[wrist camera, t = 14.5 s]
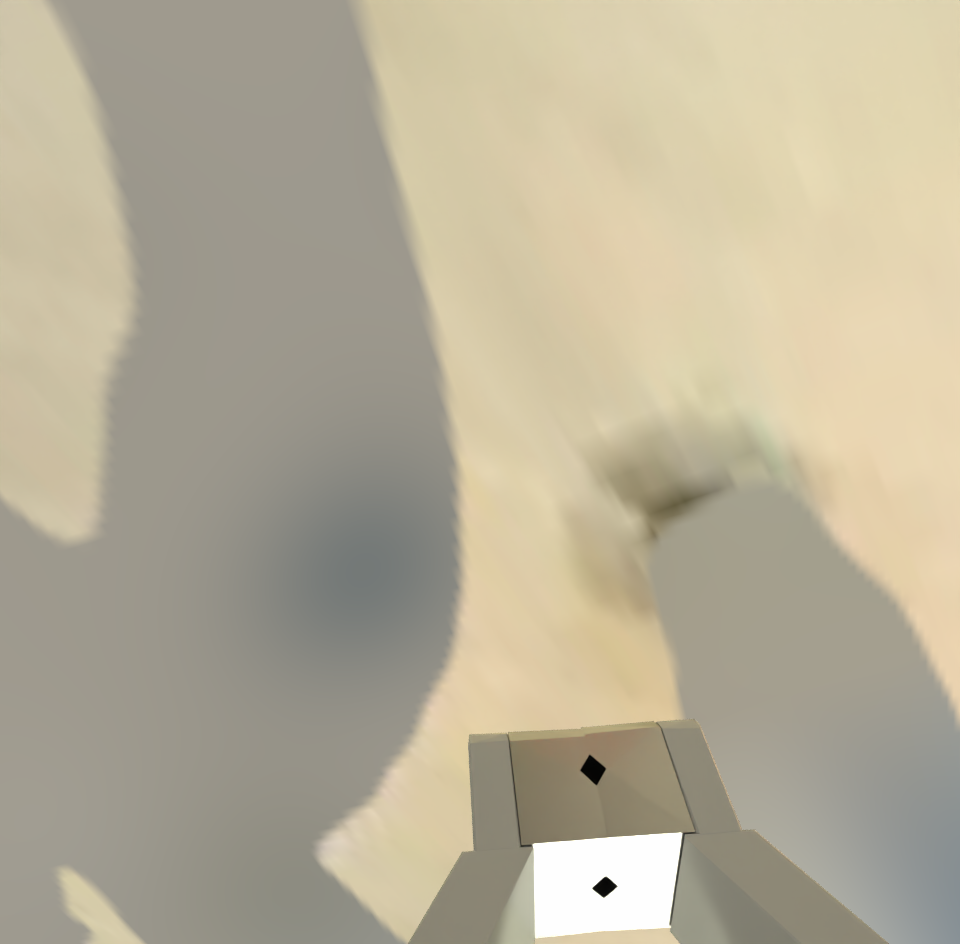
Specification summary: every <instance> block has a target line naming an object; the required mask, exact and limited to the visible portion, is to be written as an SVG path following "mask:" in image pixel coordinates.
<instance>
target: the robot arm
mask: <svg viewBox="0 0 960 944" xmlns="http://www.w3.org/2000/svg"><path fill="white" fill-rule="evenodd" d="M468 750H469V768H470V787H471V806H472V825H473V844H474V851H466V852H462V853H461V855H460V856H459V858H458V860H457V862H456V863H455V865H454V867H453V868H452V870H451V872H450V873H449V875H448V877H447V878H446V880H445V882H444V884H443V885H442V887H441V889H440V890H439V892H438V894H437V895H436V897H435V899H434V900H433V902H432V904H431V906H430V907H429V909H428V911H427V912H426V914H425V916H424V917H423V919H422V921H421V922H420V924H419V926H418V928H417V929H416V931H415V933H414V934H413V936H412V938H411V939H410V941H409V943H408V944H535V938H543V937H552V936H561V935H570V934H579V933H588V932H597V931H612V930H631V929H651V928H670V927H671V929H670V932H671V933H672V934H673V935H674V937H675V938H676V939H677V940H678V942H679V943H680V944H889V943H888V942H886V941H885V940H884V939H883V938H882V937H880V936H879V935H878V934H877V933H876V932H875V931H873V930H872V929H871V928H870V927H869V926H868V925H866V924H865V923H864V922H863V921H862V920H861V919H859V918H858V917H857V916H856V915H855V914H853V913H852V912H851V911H850V910H849V909H848V908H846V907H845V906H844V905H843V904H842V903H840V902H839V901H838V900H837V899H836V898H834V897H833V896H832V895H831V894H830V893H829V892H828V891H826V890H825V889H824V888H823V887H822V886H820V885H819V884H818V883H817V882H816V881H815V880H813V879H812V878H811V877H810V876H809V875H807V874H806V873H805V872H804V871H803V870H802V869H800V868H799V867H798V866H797V865H796V864H794V863H793V862H792V861H791V860H790V859H789V858H787V857H786V856H785V855H784V854H783V853H781V852H780V851H779V850H778V849H777V848H776V847H774V846H773V845H772V844H771V843H770V842H768V841H767V840H766V839H765V838H764V837H762V836H761V835H760V834H759V833H758V832H756V831H755V830H742V828H741V825H740V823H739V820H738V818H737V815H736V813H735V810H734V808H733V805H732V803H731V801H730V798H729V795H728V793H727V790H726V788H725V786H724V783H723V781H722V778H721V776H720V773H719V771H718V768H717V766H716V763H715V761H714V758H713V756H712V753H711V751H710V748H709V746H708V743H707V741H706V738H705V736H704V733H703V731H702V728H701V726H700V724H699V723H698V722H697V721H696V720H695V719H687V720H673V721H660V722H656V723H655V722H654V721H652V722H640V723H629V724H617V725H605V726H594V727H582V728H581V729H566V730H544V731H523V732H508V735H507V733H490V734H473V735H469V744H468Z"/></svg>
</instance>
